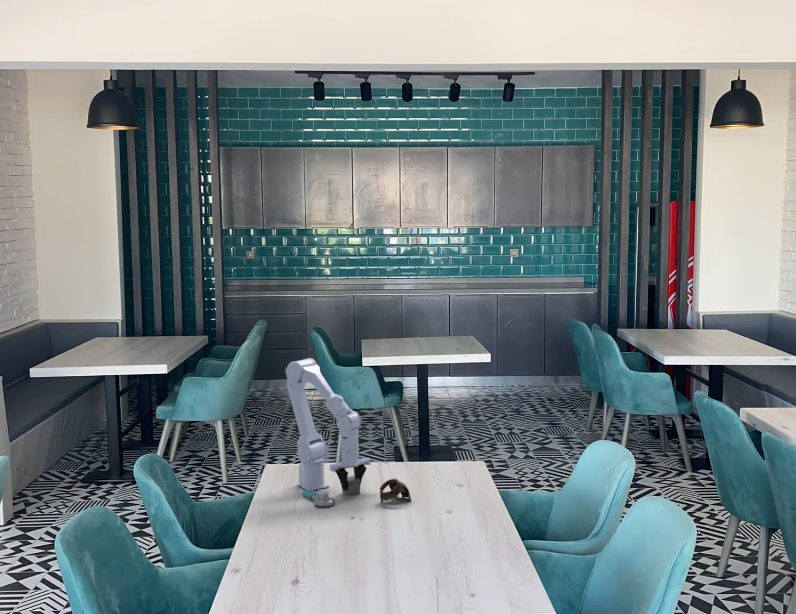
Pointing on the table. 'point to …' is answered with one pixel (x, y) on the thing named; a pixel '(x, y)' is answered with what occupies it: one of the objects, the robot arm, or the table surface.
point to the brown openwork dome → (394, 490)
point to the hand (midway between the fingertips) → (351, 488)
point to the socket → (352, 485)
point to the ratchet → (320, 498)
